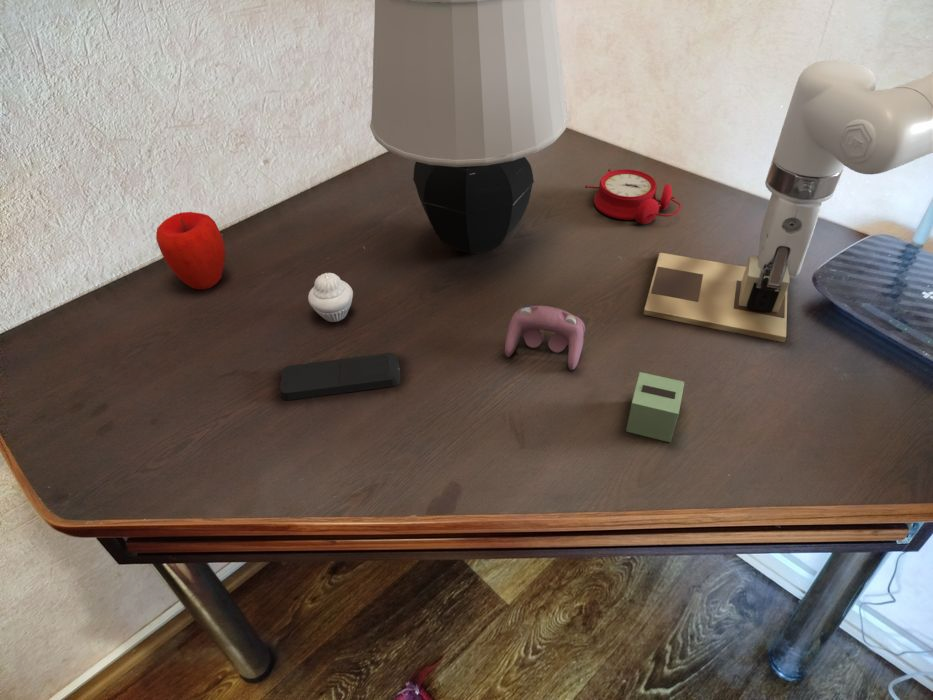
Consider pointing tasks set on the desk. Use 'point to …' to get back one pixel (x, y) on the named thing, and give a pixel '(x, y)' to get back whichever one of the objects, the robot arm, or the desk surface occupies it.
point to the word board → (709, 298)
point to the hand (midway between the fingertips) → (760, 295)
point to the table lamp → (468, 106)
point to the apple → (192, 248)
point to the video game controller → (549, 319)
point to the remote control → (340, 376)
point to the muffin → (331, 297)
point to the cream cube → (752, 277)
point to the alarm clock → (631, 196)
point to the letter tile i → (655, 407)
